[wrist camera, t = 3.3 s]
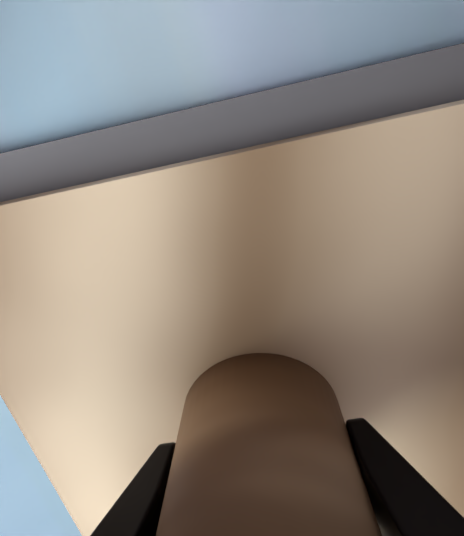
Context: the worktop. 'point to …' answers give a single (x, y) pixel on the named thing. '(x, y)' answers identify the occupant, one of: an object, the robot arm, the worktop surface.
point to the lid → (245, 327)
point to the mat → (237, 123)
